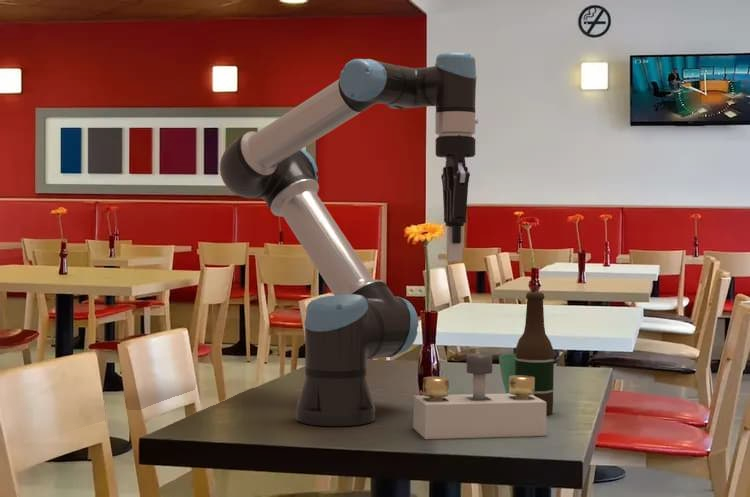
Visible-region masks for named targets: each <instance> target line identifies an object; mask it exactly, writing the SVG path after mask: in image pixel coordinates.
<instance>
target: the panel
mask: <svg viewBox="0 0 750 497" xmlns="http://www.w3.org/2000/svg"><path fill="white" fill-rule="evenodd" d="M546 403H547V402H545V401H543V400H541V399H539V398H537V397H535V396H533V395H528V400H516V395H512V394H506V393H485V400H484V401H475V400H473V393H471V394H470V393H468V394H467V393H465V394H461V393H460V394H449V396H447V397H442V402H430V397H426V396H423V394H422V395H420V394H419V395H418V394H417V395H413V411H412V412H413V417H412V420H413V422H412V424H413V425H412V428H413V429H414V430H415V431H416V432H417V433H418V434H419V436H422V438H424V439H425V440H437V439H438V440H441V439H446V440H447V439H474V438H475V439H477V438H478V439H479V438H513V437H514V438H515V437H546V436H547V415H546Z"/></svg>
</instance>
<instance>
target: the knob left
mask: <svg viewBox="0 0 750 497" xmlns="http://www.w3.org/2000/svg"><path fill="white" fill-rule="evenodd" d="M422 380H423V381H422V395H423V396H426V397H430V402H442V397H447V396H449V395H450V378H449V377H444V376H426V377H423V379H422Z"/></svg>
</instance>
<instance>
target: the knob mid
mask: <svg viewBox="0 0 750 497" xmlns="http://www.w3.org/2000/svg"><path fill="white" fill-rule="evenodd" d="M466 373H468V374H472V375H473V377H472V394H473V400H475V401H484V400H485V394H486V375H489V374H492V373H493V355H491V354H486V353H483V354H482V353H471V354H467V355H466Z"/></svg>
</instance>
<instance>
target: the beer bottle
mask: <svg viewBox="0 0 750 497" xmlns="http://www.w3.org/2000/svg"><path fill="white" fill-rule="evenodd" d="M545 298H546V297H545V294H544V293H543V292H540V291H539V292H538V291H528V292H526V294H525V299H526V311H525V325H524V331H523V333H522V335H521V336H520V338H519V339H518V341H517V344H516V347H515V353H514V354H515V375H527V376H533V377H535V390H534V395H533V396H535V397H537V398H539V399H541V400H543V401H545V402H547V403H546V416H550V414H551V415H552V414H553V412H554V410H553V408H554V371H555V370H554V368H555V366H554V365H555V364H554V363H555V360H554V348H553V346H552V345H553V344H552V342H551V341H550V339H549V337H548V336H547V334H546V329H545V315H544V313H545V311H544V299H545Z"/></svg>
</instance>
